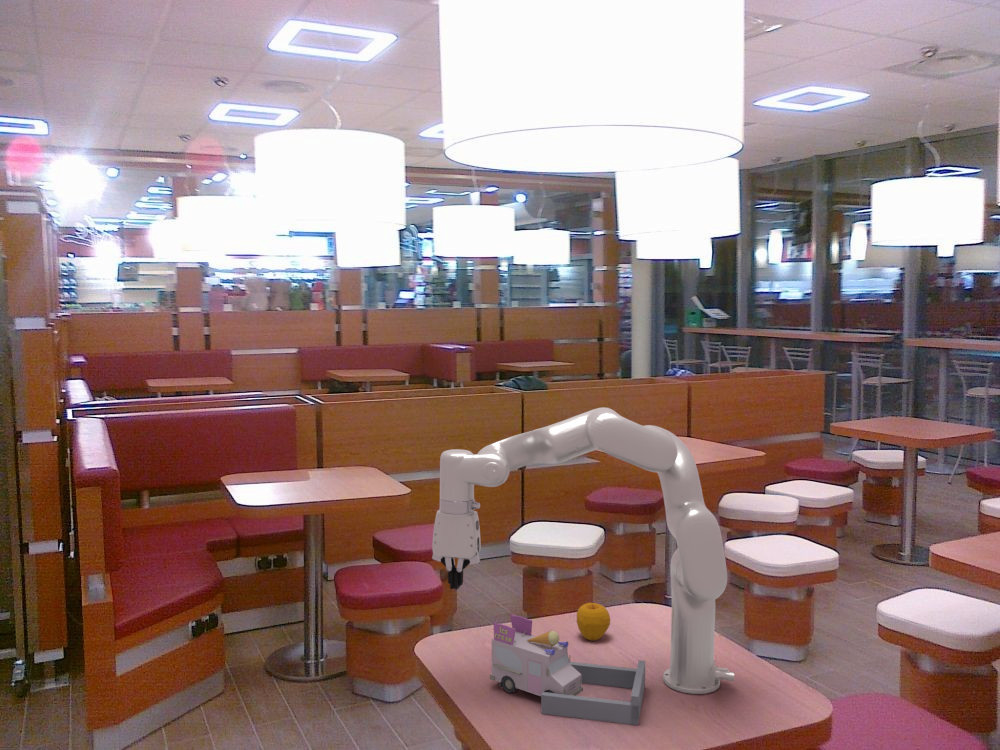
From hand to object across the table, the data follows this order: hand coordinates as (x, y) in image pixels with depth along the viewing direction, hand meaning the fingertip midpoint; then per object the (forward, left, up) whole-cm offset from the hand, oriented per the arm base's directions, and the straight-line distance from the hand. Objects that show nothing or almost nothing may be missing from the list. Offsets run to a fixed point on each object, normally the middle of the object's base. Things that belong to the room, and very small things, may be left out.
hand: (455, 587), depth 193 cm
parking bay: (-31, 0, -22) cm, 38 cm away
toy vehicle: (-18, 0, -23) cm, 29 cm away
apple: (-26, -34, -23) cm, 49 cm away
